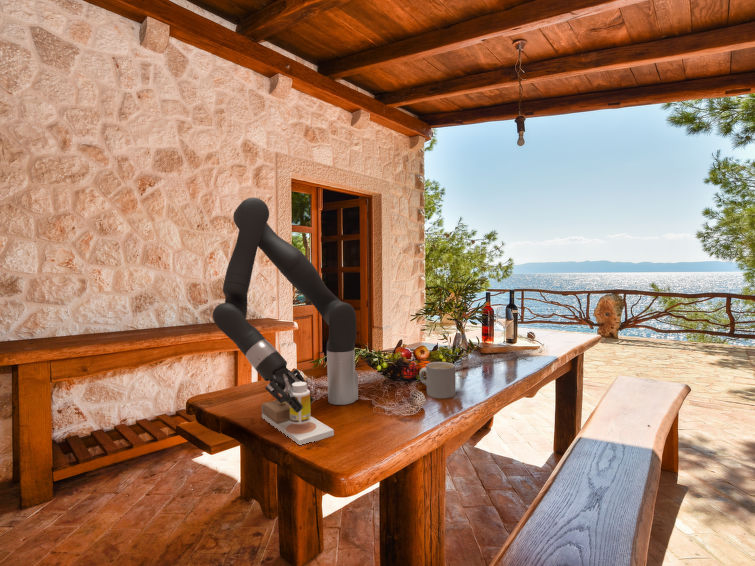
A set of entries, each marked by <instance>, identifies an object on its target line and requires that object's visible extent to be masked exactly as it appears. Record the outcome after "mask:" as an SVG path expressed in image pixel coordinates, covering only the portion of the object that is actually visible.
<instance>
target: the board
mask: <svg viewBox="0 0 755 566" xmlns="http://www.w3.org/2000/svg"><path fill="white" fill-rule="evenodd" d="M261 418H262V420H264V419H265V420H264V421H266V422H267V423H268V424H269V423H270V425H271V426H272V427H273V426H274V427H273V428H275V429H276V428H277V429H278V430H277V429H276V430H277V431H279V432H280V431H281V432H282V434H283V433H284V434H285V435H286V436H285V435H284V434H283V435H284V436H285V437H287V436H288V437H289V438H291V439H292V440H293V441H295V442H296V443H297V444H299V445H302V444H306V443H309V442H312V443H314V441H315V442H318V441H321V440H324V439H327V438H331V437H334V435H335V430H334V429H333V428H331V427H330V426H328V425H327V424H325V423H323V422H321V421H319V420H318V419H316V418H315V417H314V416H311V419H310V421H309V422H307V423H304V424H293V423H291V421H290V420H286V421H283V422H279V423H276V422H274V421H273V420H272V419H270V418H269V417H268V416H266V415H265V414H264V413H263V404H261ZM281 432H280V433H281ZM288 437H287V438H288ZM289 438H288V439H289ZM292 440H291V441H292ZM293 441H292V442H293ZM296 443H295V444H296ZM297 444H296V445H297ZM309 444H310V443H309ZM306 445H307V444H306ZM302 446H303V445H302Z"/></svg>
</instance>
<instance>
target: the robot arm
mask: <svg viewBox="0 0 755 566" xmlns="http://www.w3.org/2000/svg"><path fill="white" fill-rule="evenodd" d="M232 218H233V222H234V224H235V226H236V228H237V229H238V234H237V238H236V242H235V245H234V248H233V251H232V253H231V257H230V259H229V262H228V264H227V268H226V271H225V277H224V281H223V284H222V293H223V294H224V297H225V300H224V302H222V303H219V304H218V305H216V306H215V308H214V309H213V312H212V320H213V322H214V324H215V325H216V327H218V329H219V330H220V331H221V332H222V333H223V334H225V336H226V337H228V338H229V339H230V340H231V341H232V342H233V343H234V344H235V345H236V346H237V348H238V349H239V350H240V352H241V353H242V354H243V355H244V356H245V358H246V359H247V361H248V362H249V363H250V365H251V366H252V367H253V368H254V370H255V371H256V372H257V374H258V375H259V376H260V377H261V378H262V379H263V380H264V382H269V383H268V384H267V385H266V386H265V388H264V389H265V390H266V391H267V392H268V393H269V394H270V395H271V396H272V397H273V398H275V400H278V401H279V402H280V403H283V402H286V403H288V404H289V405H290V406H291V407H292V408H293V410H294V411H296V412H297V413H298V412H299V411H300V410H301V409H302V408H303V406H302V405H301V403H300V402H299V401H298V400H297V399H296V398H295V397H293V394H292V392H291V390H292V384H293V383H295V382H306V383H307V386H308V382H307V381H306V379H305V378H304V377H303V375H302V374H301V373H300V371H299V370H298V369H297V368H295V369H294V370H293V371H291V370H290V369H289V368H287V365H288V361H287V360H286V359H285V358H284V357H283V356H282V354H280V353H279V352H280V351H278V350H277V349H276V348H275V346H274V345H273V344H272V343H271V342H270V341H268V340H267V339H266V338H265V336H264V335H263V334H262V333H261V332H260V331H259V330H258V328H256V327H255V326H253V325H251V324H250V322H248V320H247V315H248V293H249V289H250V283H251V279H252V274H253V269H254V265H255V260H256V255H257V251H258V248H259V249H260V250H261V251H262V252H263V254H264V255H265V256H266V257H267V258H268V260H269V261H271V262H272V264H273V265H274V267H276V268H277V270H279V272H280V273H281V274H282V275H283V276H284V278H286V279H287V281H288V282H289V283H290V284H291V285H292V286H293V287H294V288H295V289H296V290H297V291H298V292H299V293H300V294H301V295H303V296H304V297H305V298H306V299H307V300H308V301H309V302H310V303H311V304H312V305H313V306H314V309H316V310H317V312H318V313H319V314H320V316H321V317H322V319H323V320H324V322H325V323H326V324H327V325H328V339H327V342H326V363H327V364H326V367H327V368H326V369H327V373H326V374H327V400H328V403H329V404H331V405H335V406H337V405H338V406H342V405H343V406H344V405H350V404H353V403H354V402H356V401H357V400H358V401H359V380H358V379H359V377H358V376H359V375H358V371H357V370H356V360H355V357H356V355H355V354H356V353H355V351H356V350H355V344H356V340H357V315H356V311H355V309H354V307H353V306H352V305H351V304H350V303H348V302H344V301H342V300H341V299H339V298H338V296H336V295H335V294H334V293H333V292H332V291H331V290H330V289H329V288H328V287H327V286H326V284H325V282H324V281H323V279H322V276H321V275H320V274H319V272H318V270H317V269H316V266H314V265H313V263H312V262H311V261H310V259H309V258H308V257H307V256H306V255H305V254H304V253H303V252H302V251H301V250H300V249H298V248H297V247H296V246H294V245H292V244H291V243H290V242H288V241H286V240H284V238H281V237H280V236H279V235H278V234H277V233H276V232H275V231H274V230H273V229H272V227H270V225H269V224H268V221H269V218H270V210H269V207H268V205H267V204H266V202H265V201H264V200H262V199H261V198H258V197H248V198H246V199H245V200H243V201H242V202H240V203H239V205H238V206H237V207H236V209H235V210H234V212H233V217H232ZM314 399H315V398H314V397H313V396H312V395H311V394H310V405H311V404H312V403H313V402H314V401H315V400H314Z"/></svg>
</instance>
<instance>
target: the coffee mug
mask: <svg viewBox="0 0 755 566" xmlns="http://www.w3.org/2000/svg"><path fill="white" fill-rule="evenodd" d="M418 373H419V375H418V377H419V381H420V382H421V383H422V384H423V385H424V386H426V395H427V396H429V397H430V398H431V397H432V398H433V399H450V398H454V397H455V396H456V385H457V384H456V365H455V364H454V363H451V362H446V361H434V362H429V363H426V365H425V367H422V368H421V369H420V371H419V372H418ZM424 373H426V375H424ZM425 376H426V377H425ZM425 378H426V379H425Z"/></svg>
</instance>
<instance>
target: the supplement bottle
mask: <svg viewBox="0 0 755 566" xmlns="http://www.w3.org/2000/svg"><path fill="white" fill-rule="evenodd" d="M306 382H307V381H306ZM306 382H301V381H300V382H294V383H293V384H292V390H291V392H292V394H293V397H295V398H296V399H297V400H298V401H299V402H300V403H301V405H302V406H303V408H302V409H301V410H300V411H299V412H298V413H297V412H296V411H294V410H293V408H292V407H291V406H290V405H289V407H290V421H291V423H293V424H304V423H307V422H309V421H310V419H311V417H312V416H311V415H312V414H311V411H312V410H311V404H310V395H311V391H310V390H309V389H308V385H307V384H308V382H307V383H306Z"/></svg>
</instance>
